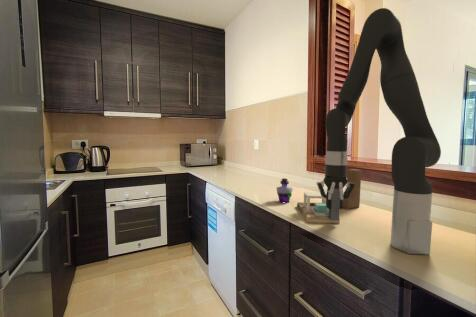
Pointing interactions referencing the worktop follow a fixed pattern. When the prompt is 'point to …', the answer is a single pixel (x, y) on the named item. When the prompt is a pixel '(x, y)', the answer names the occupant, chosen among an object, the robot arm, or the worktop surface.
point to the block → (320, 207)
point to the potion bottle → (284, 191)
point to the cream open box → (312, 195)
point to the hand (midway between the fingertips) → (334, 208)
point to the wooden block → (354, 196)
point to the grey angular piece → (335, 207)
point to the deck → (311, 217)
